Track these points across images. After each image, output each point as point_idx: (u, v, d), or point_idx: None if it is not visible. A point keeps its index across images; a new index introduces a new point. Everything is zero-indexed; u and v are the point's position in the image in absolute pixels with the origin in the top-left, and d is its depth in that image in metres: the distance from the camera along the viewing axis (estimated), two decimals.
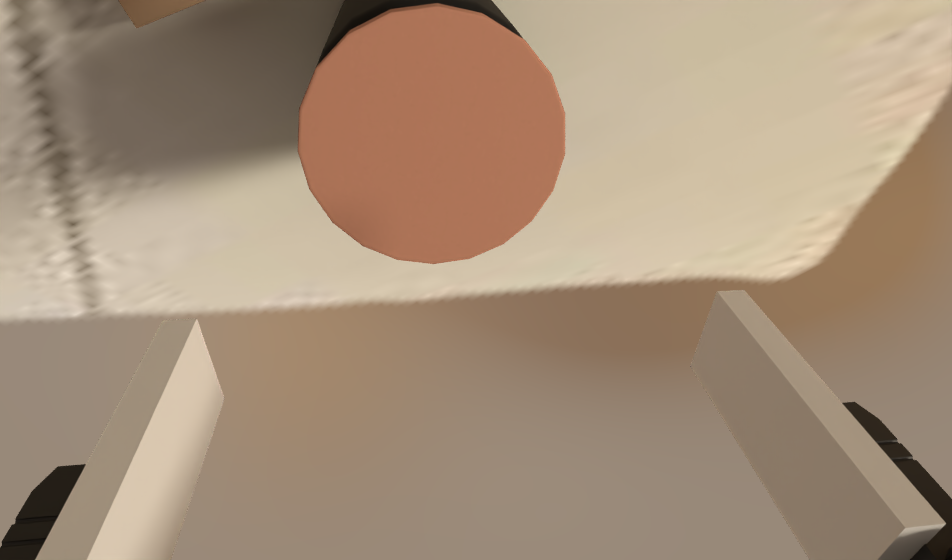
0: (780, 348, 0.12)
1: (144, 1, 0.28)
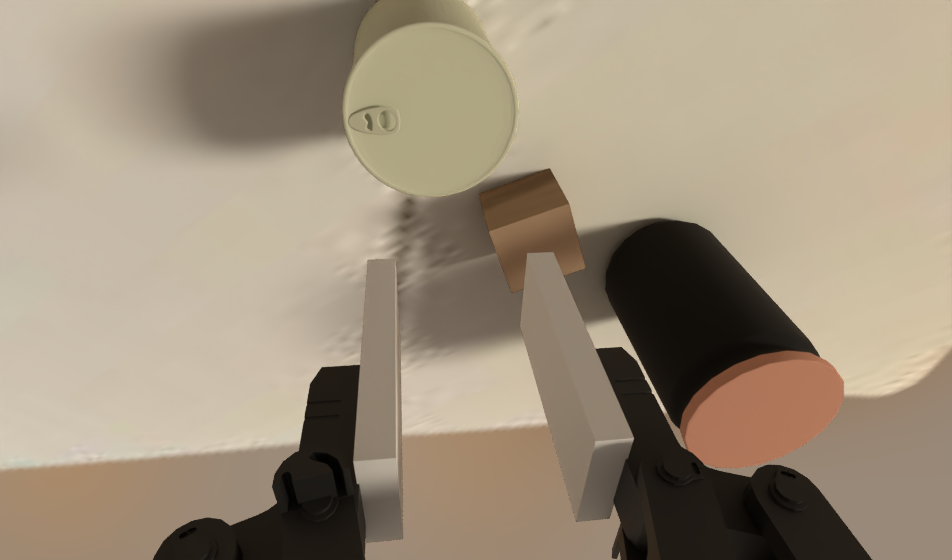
0: (561, 300, 0.14)
1: (522, 279, 0.42)
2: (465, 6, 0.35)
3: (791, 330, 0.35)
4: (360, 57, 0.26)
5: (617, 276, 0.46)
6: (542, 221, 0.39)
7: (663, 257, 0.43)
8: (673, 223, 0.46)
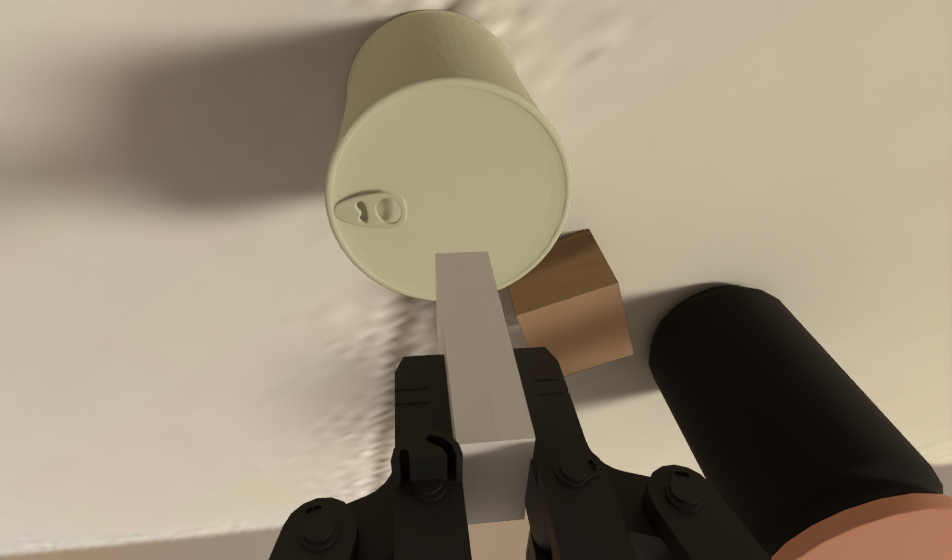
0: (487, 299, 0.14)
1: None
2: (490, 36, 0.27)
3: (911, 457, 0.27)
4: (350, 127, 0.18)
5: (667, 353, 0.38)
6: (583, 302, 0.31)
7: (728, 338, 0.35)
8: (735, 291, 0.38)
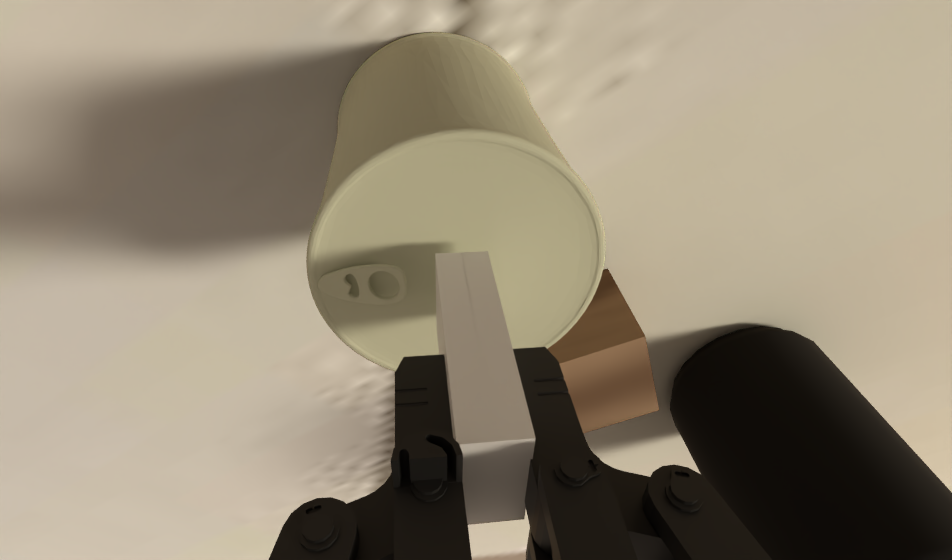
0: (487, 299, 0.14)
1: None
2: (502, 62, 0.24)
3: None
4: (336, 189, 0.15)
5: (692, 402, 0.35)
6: (605, 358, 0.28)
7: (762, 391, 0.32)
8: (768, 334, 0.35)
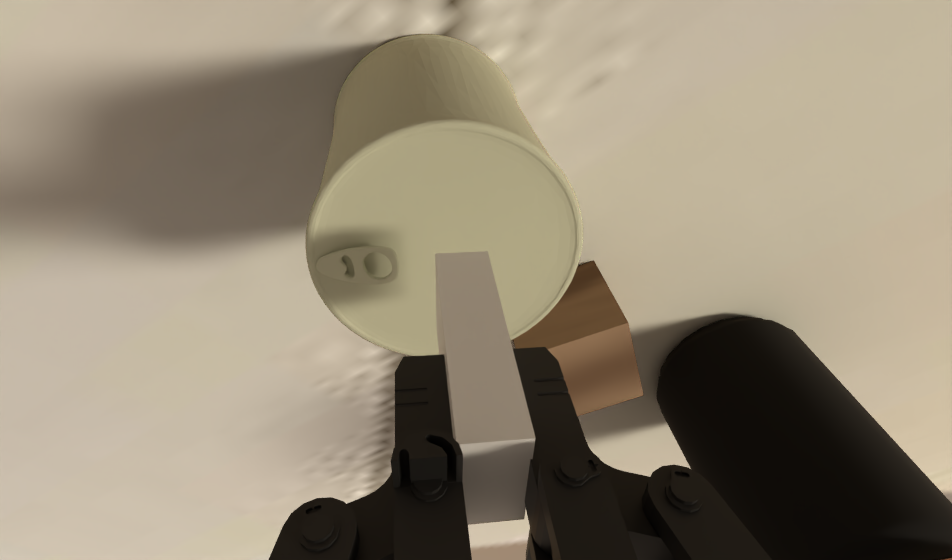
0: (487, 299, 0.14)
1: None
2: (489, 62, 0.25)
3: (947, 513, 0.25)
4: (333, 175, 0.16)
5: (677, 390, 0.36)
6: (591, 344, 0.29)
7: (742, 376, 0.33)
8: (748, 323, 0.36)
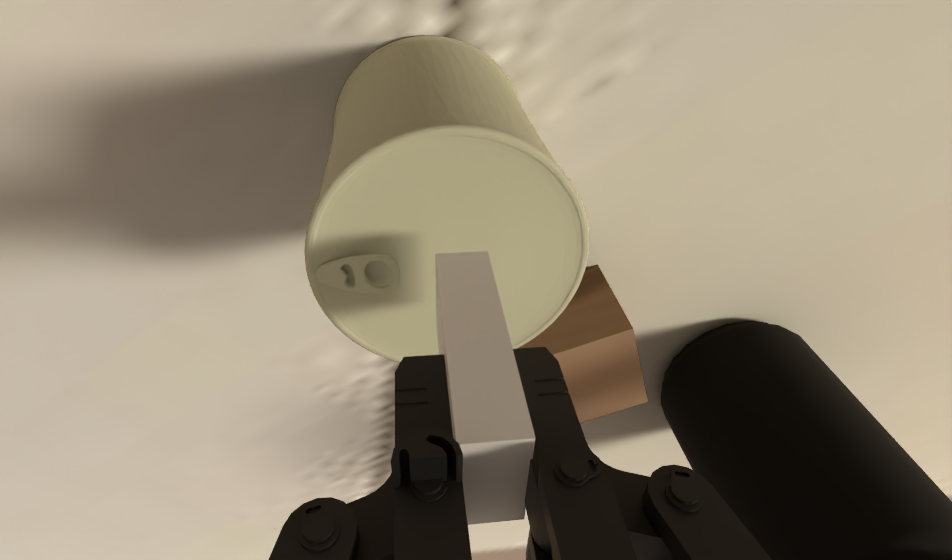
0: (487, 299, 0.14)
1: None
2: (492, 64, 0.25)
3: None
4: (332, 182, 0.15)
5: (681, 395, 0.36)
6: (595, 350, 0.28)
7: (748, 382, 0.32)
8: (754, 328, 0.35)
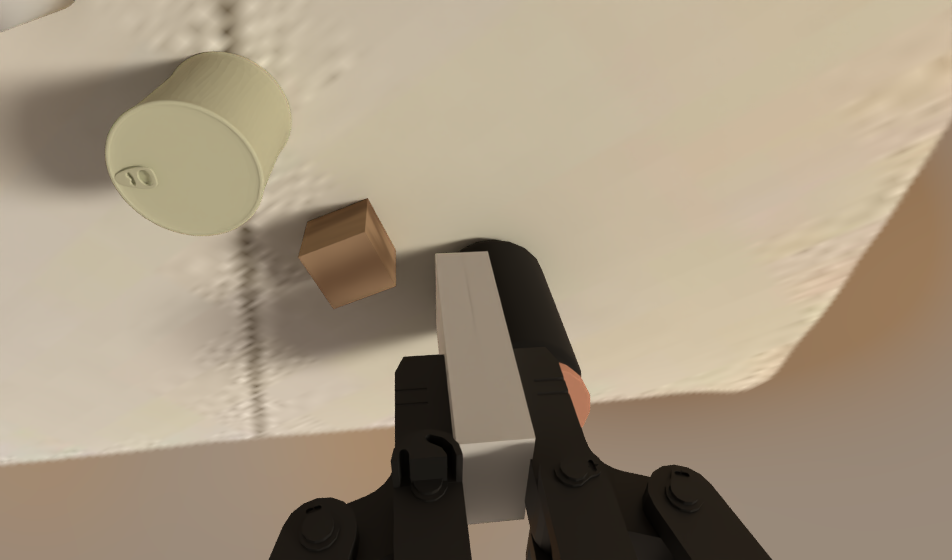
0: (487, 299, 0.14)
1: (340, 296, 0.48)
2: (254, 67, 0.41)
3: (542, 339, 0.41)
4: (111, 129, 0.32)
5: None
6: (344, 247, 0.45)
7: None
8: (488, 242, 0.52)
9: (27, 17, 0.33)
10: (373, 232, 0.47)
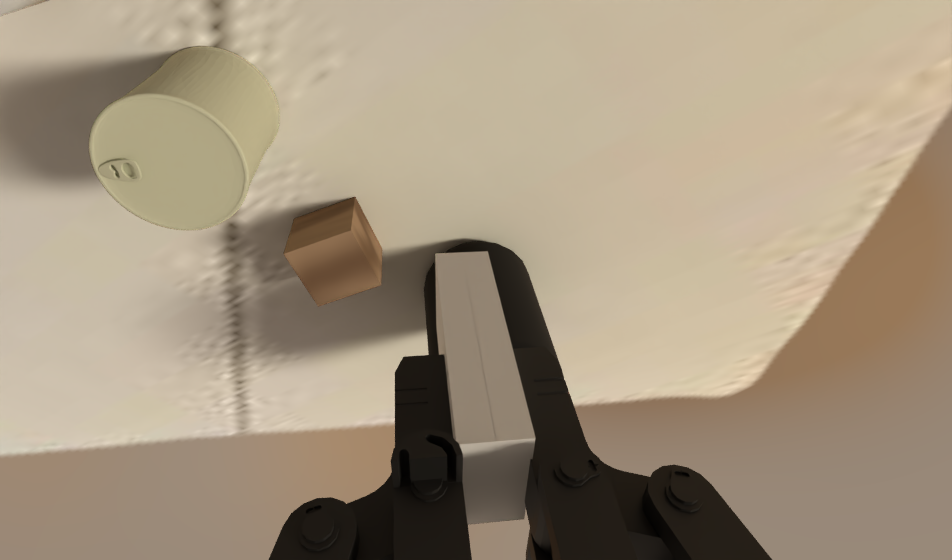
0: (487, 299, 0.14)
1: (325, 294, 0.48)
2: (243, 63, 0.41)
3: (524, 340, 0.41)
4: (95, 121, 0.32)
5: (426, 290, 0.52)
6: (330, 245, 0.45)
7: None
8: (474, 243, 0.52)
9: (13, 6, 0.33)
10: (359, 231, 0.47)
